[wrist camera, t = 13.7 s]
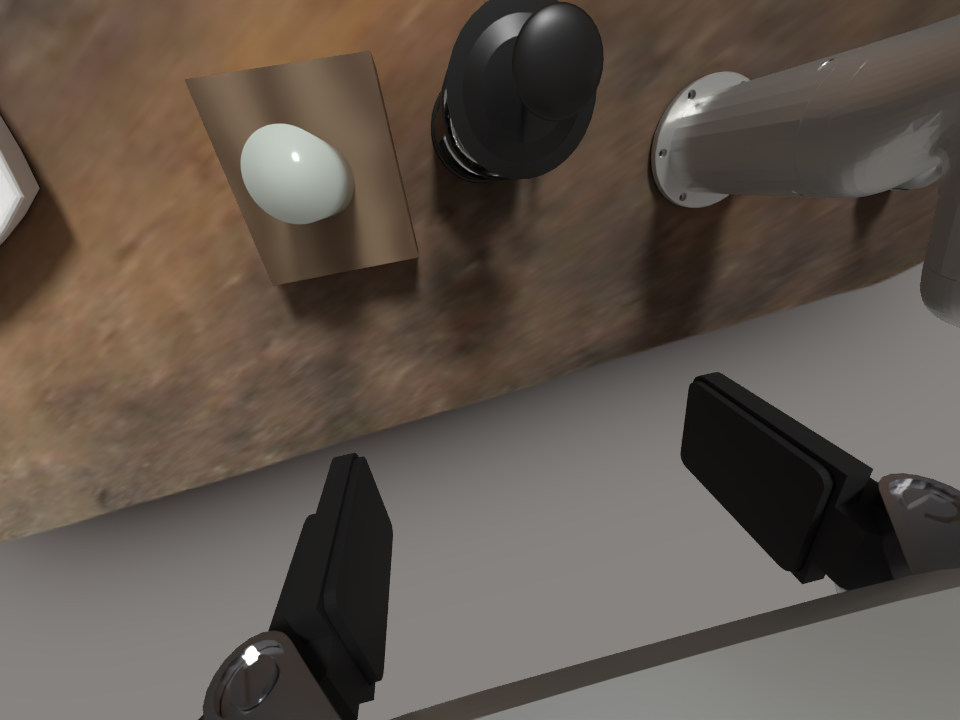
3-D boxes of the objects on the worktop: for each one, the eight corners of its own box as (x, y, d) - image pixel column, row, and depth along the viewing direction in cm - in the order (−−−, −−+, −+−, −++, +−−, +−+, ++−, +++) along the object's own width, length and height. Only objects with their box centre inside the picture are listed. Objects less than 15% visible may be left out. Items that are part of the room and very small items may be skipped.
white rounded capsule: (343, 134, 30) (321, 117, 23) (362, 211, 33) (349, 217, 26) (269, 144, 30) (224, 130, 23) (295, 221, 33) (262, 230, 25)
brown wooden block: (376, 68, 33) (369, 50, 28) (418, 249, 40) (418, 257, 36) (216, 93, 32) (184, 79, 27) (289, 274, 39) (273, 285, 35)
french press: (434, 190, 38) (456, 199, 17) (414, 78, 34) (414, -83, 13) (543, 173, 39) (686, 163, 18) (538, 62, 35) (715, -110, 14)
